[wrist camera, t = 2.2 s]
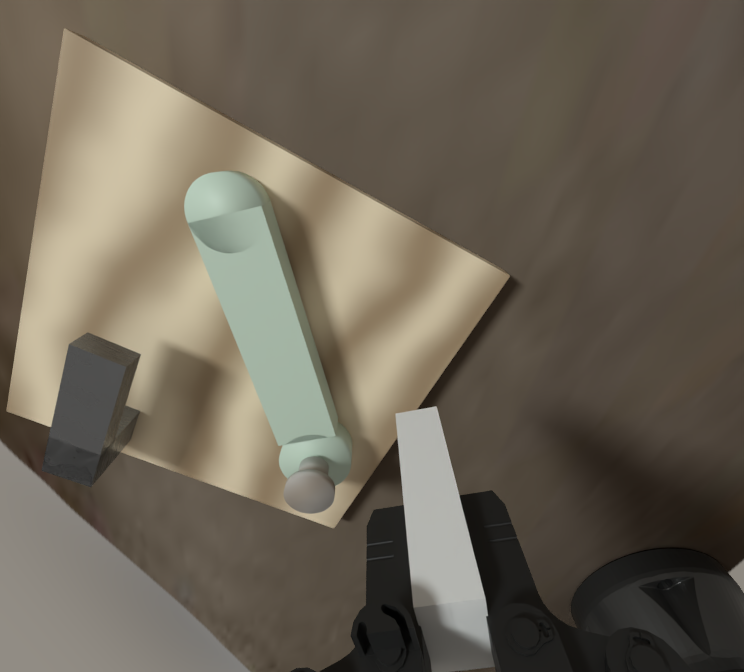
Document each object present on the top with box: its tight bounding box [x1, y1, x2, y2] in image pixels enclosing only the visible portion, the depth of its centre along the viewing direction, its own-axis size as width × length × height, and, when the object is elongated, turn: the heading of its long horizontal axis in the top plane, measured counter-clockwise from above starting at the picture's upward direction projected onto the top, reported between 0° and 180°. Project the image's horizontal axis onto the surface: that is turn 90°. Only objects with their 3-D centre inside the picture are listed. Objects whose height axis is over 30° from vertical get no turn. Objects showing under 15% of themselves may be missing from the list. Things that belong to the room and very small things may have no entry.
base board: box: [7, 28, 510, 528], centre depth 24 cm, size 26×25×7 cm
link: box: [184, 171, 352, 486], centre depth 24 cm, size 22×5×2 cm, turn 12°
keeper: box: [42, 332, 141, 487], centre depth 25 cm, size 3×10×4 cm, turn 152°
